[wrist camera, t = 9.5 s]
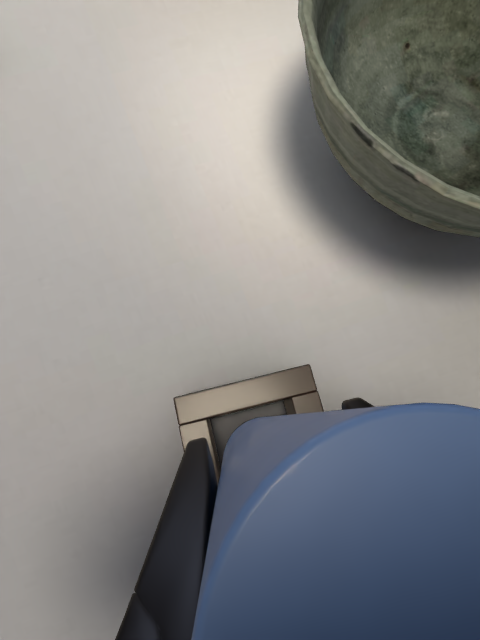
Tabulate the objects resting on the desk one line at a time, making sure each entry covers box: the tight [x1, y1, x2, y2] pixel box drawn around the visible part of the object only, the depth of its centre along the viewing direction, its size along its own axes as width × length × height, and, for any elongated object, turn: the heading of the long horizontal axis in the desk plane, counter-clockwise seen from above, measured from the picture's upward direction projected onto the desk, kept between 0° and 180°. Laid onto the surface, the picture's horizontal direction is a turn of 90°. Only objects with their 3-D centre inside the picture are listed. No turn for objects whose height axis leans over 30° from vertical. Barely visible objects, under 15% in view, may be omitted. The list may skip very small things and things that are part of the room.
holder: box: [174, 364, 324, 484], centre depth 20 cm, size 7×7×3 cm
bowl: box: [298, 0, 480, 237], centre depth 22 cm, size 21×21×10 cm
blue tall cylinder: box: [191, 403, 480, 640], centre depth 9 cm, size 3×3×14 cm
